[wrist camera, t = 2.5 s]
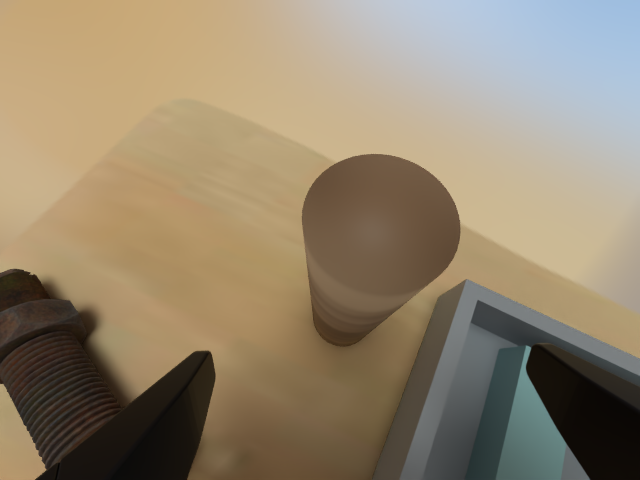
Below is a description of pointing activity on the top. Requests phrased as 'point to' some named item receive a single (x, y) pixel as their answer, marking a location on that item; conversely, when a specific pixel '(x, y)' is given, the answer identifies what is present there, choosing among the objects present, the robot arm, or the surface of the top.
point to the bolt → (49, 368)
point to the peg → (373, 241)
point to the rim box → (486, 394)
